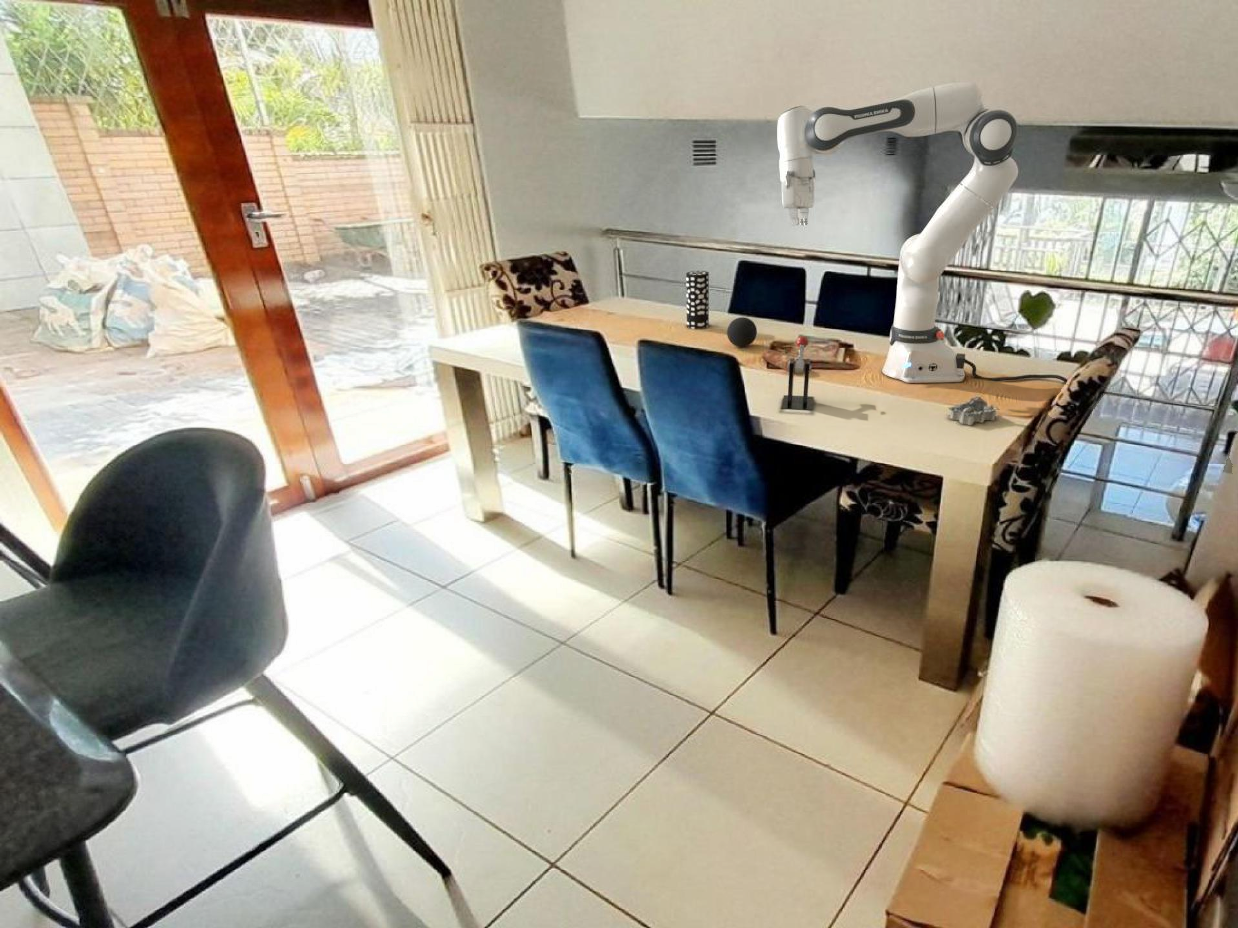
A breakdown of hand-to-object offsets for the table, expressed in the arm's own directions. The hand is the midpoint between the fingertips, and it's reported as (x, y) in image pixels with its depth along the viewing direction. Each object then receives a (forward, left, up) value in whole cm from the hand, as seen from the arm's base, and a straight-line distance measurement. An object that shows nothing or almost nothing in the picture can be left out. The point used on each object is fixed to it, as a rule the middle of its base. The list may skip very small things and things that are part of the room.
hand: (799, 225), depth 196 cm
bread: (+4, -4, -43) cm, 44 cm away
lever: (-3, +23, -31) cm, 39 cm away
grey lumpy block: (-46, +30, -43) cm, 70 cm away
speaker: (+19, -26, -43) cm, 54 cm away
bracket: (-3, +28, -43) cm, 52 cm away
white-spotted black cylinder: (+39, -51, -43) cm, 77 cm away
